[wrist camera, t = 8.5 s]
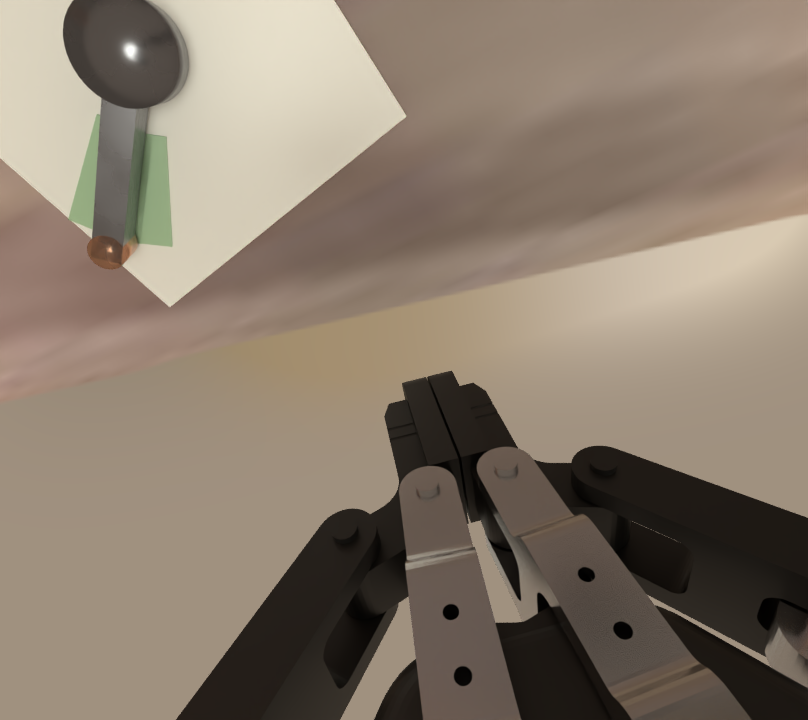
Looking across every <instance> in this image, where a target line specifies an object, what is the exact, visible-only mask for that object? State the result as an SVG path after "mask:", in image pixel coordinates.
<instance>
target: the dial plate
mask: <svg viewBox="0 0 808 720" xmlns="http://www.w3.org/2000/svg"><path fill="white" fill-rule="evenodd" d="M72 1H73V0H0V158H1V159H2V160H3V161H4V162H5V163H6V164H7V165H9V166H10V167H11V168H12V169H13V170H14V171H15V172H17V173H18V174H19V175H20V176H21V177H22V178H23V179H25V180H26V181H27V182H28V183H29V184H30V185H31V186H33V187H34V188H35V189H36V190H37V191H38V192H39V193H40V194H42V195H43V196H44V197H45V198H46V199H47V200H48V201H50V202H51V203H52V204H53V205H54V206H55V207H56V208H58V209H59V210H60V211H61V212H62V213H63V214H64V215H65V216H67V217H68V220H71V221H72V222H73V223H75V224H76V225H77V226H78V227H79V228H80V229H81V230H83V231H84V232H85V233H86V234H87V235H88V236H89V237H90V238H92V230H93V215H94V200H95V185H96V170H97V156H98V141H99V126H100V111H101V97H99V96H98V95H96V94H95V93H94V92H93V91H92V90H90V89H89V88H88V87H87V86H86V85H85V84H84V83H83V81H82V80H81V79H80V78H79V76H78V75H77V73H76V72H75V70H74V69H73V67H72V65H71V63H70V61H69V58H68V56H67V53H66V50H65V46H64V40H63V22H64V18H65V14H66V12H67V9H68V7H69V6H70V4H71V3H72ZM149 1H151V2H152V3H154V4H156V5H157V6H158V7H160V8H161V9H162V10H164V11H165V12H166V13H167V14H168V15H169V16H170V18H171V19H172V20H173V21H174V22H175V24H176V25H177V27H178V28H179V30H180V32H181V34H182V36H183V38H184V41H185V43H186V47H187V50H188V56H189V72H188V76H187V80H186V82H185V85H184V86H183V88H182V90H181V91H180V92H179V94H177V95H176V96H175V97H174V98H173V99H171V100H170V101H168V102H166V103H163V104H159V105H155V106H151V107H149V109H148V119H147V128H146V137H145V147H144V156H143V165H142V175H141V184H140V194H139V203H138V212H137V222H136V231H135V236H136V238H137V241H138V246H137V249H136V251H135V252H134V253H133V254H132V255H131V256H130V257H129V258H128V260H127V261H126V262H125V263H124V264H123V265H122V266H123V267H125V268H126V269H127V270H128V271H129V272H130V273H131V274H133V275H134V276H135V277H136V278H137V279H138V280H139V281H141V282H142V283H143V284H144V285H145V286H146V287H147V288H148V289H150V290H151V291H152V292H153V293H154V294H155V295H156V296H158V297H159V298H160V299H161V300H162V301H163V302H164V303H166V304H167V305H168V306H169V307H171V306H172V305H173V304H174V303H176V302H177V301H178V300H179V299H181V298H182V297H183V296H184V295H186V294H187V293H188V292H189V291H191V290H192V289H193V288H194V287H196V286H197V285H198V284H199V283H201V282H202V281H203V280H204V279H206V278H207V277H208V276H209V275H210V274H212V273H213V272H214V271H215V270H217V269H218V268H219V267H220V266H222V265H223V264H224V263H225V262H227V261H228V260H229V259H230V258H232V257H233V256H234V255H235V254H237V253H238V252H239V251H240V250H241V249H243V248H244V247H245V246H246V245H248V244H249V243H250V242H251V241H253V240H254V239H255V238H256V237H258V236H259V235H260V234H261V233H263V232H264V231H265V230H266V229H268V228H269V227H270V226H271V225H272V224H274V223H275V222H276V221H277V220H279V219H280V218H281V217H282V216H284V215H285V214H286V213H287V212H289V211H290V210H291V209H292V208H294V207H295V206H296V205H297V204H299V203H300V202H301V201H302V200H303V199H305V198H306V197H307V196H308V195H310V194H311V193H312V192H313V191H315V190H316V189H317V188H318V187H320V186H321V185H322V184H323V183H325V182H326V181H327V180H328V179H330V178H331V177H332V176H333V175H335V174H336V173H337V172H338V171H339V170H341V169H342V168H343V167H344V166H346V165H347V164H348V163H349V162H351V161H352V160H353V159H354V158H356V157H357V156H358V155H359V154H361V153H362V152H363V151H364V150H366V149H367V148H368V147H369V146H370V145H372V144H373V143H374V142H375V141H377V140H378V139H379V138H380V137H382V136H383V135H384V134H385V133H387V132H388V131H389V130H390V129H392V128H393V127H394V126H395V125H397V124H398V123H399V122H400V121H401V120H403V119H404V118H405V117H406V115H405V113H404V111H403V110H402V108H401V106H400V105H399V103H398V102H397V100H396V98H395V97H394V95H393V94H392V92H391V90H390V89H389V87H388V86H387V84H386V82H385V81H384V79H383V78H382V76H381V74H380V73H379V71H378V70H377V68H376V66H375V65H374V63H373V62H372V60H371V58H370V57H369V55H368V54H367V52H366V50H365V49H364V47H363V46H362V44H361V42H360V41H359V39H358V38H357V36H356V34H355V33H354V31H353V30H352V28H351V26H350V25H349V23H348V22H347V20H346V18H345V17H344V15H343V14H342V12H341V10H340V9H339V7H338V6H337V4H336V2H335V1H334V0H149Z"/></svg>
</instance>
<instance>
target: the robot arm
mask: <svg viewBox="0 0 808 720" xmlns="http://www.w3.org/2000/svg"><path fill="white" fill-rule="evenodd" d="M427 379H428V380H427ZM402 386H403V391H404V396H405V400H403V401H399V402H395V403H391V404H389V405H388V408H387V411H386V413H385V421H386V425H387V429H388V434H389V438H390V443H391V447H392V451H393V456H394V460H395V464H396V468H397V473H398V477H399V487H398V490H397V492H396V494H395V496H394V497H393V498H392V500H391V501H390V502H389V503H387V504H386V505H385V506H384V507H382V508H380V509H379V510H377V511H375V512H374V513H372V514H369V513H367V512H365V511H363V510H360V509H346V510H342V511H339V512H337V513H335V514H333V515H332V516H330V517H329V518H327V520H325V521H324V523H323V524H322V525H321V526H320V527H319V529H318V530H317V531H316V533H315V534H314V535H313V537H312V538H311V539H310V541H309V542H308V544H307V545H306V546H305V547H304V549H303V550H302V552H301V553H300V554H299V556H298V557H297V558H296V560H295V561H294V562H293V564H292V565H291V566H290V568H289V569H288V570H287V572H286V573H285V574H284V576H283V577H282V578H281V580H280V581H279V582H278V584H277V585H276V586H275V588H274V589H273V590H272V592H271V593H270V594H269V596H268V597H267V598H266V600H265V601H264V602H263V604H262V605H261V606H260V608H259V609H258V611H257V612H256V613H255V615H254V616H253V617H252V619H251V620H250V621H249V623H248V624H247V625H246V627H245V628H244V629H243V631H242V632H241V633H240V635H239V636H238V637H237V639H236V640H235V641H234V643H233V644H232V645H231V647H230V648H229V649H228V651H227V652H226V653H225V655H224V656H223V658H222V659H221V660H220V661H219V663H218V664H217V665H216V667H215V668H214V670H213V671H212V672H211V674H210V675H209V676H208V678H207V679H206V680H205V682H204V683H203V684H202V686H201V687H200V688H199V690H198V691H197V692H196V694H195V695H194V696H193V698H192V699H191V700H190V702H189V703H188V704H187V706H186V707H185V708H184V710H183V711H182V712H181V714H180V715H179V716H178V718H177V719H176V720H340V719H341V717H342V715H343V713H344V711H345V709H346V707H347V705H348V703H349V702H350V700H351V698H352V696H353V694H354V692H355V690H356V688H357V686H358V684H359V683H360V680H361V679H362V677H363V675H364V673H365V671H366V669H367V667H368V665H369V663H370V661H371V660H372V658H373V656H374V654H375V652H376V650H377V648H378V646H379V644H380V642H381V640H382V639H383V636H384V635H385V633H386V631H387V629H388V627H389V625H390V623H391V621H392V620H393V617H394V616H395V614H396V611H397V608H398V603H399V602H401V601H402V600H404V599H405V598H407V597H408V596H409V603H410V611H411V620H412V628H413V637H414V646H415V654H416V659H415V660H414V661H413V662H411V663H410V664H409V665H408V666H407V667H406V668H405V669H404V670H403V671H402V672H401V673H400V674H399V676H398V677H397V678H396V680H395V681H394V682H393V684H392V685H391V687H390V688H389V690H388V692H387V693H386V695H385V697H384V699H383V701H382V703H381V706H380V708H379V710H378V712H377V714H376V717H375V719H374V720H808V518H806V517H804V516H801V515H798V514H795V513H792V512H790V511H787V510H784V509H781V508H778V507H776V506H773V505H770V504H767V503H765V502H762V501H759V500H757V499H754V498H751V497H748V496H745V495H743V494H740V493H737V492H734V491H732V490H729V489H726V488H723V487H720V486H718V485H715V484H712V483H709V482H706V481H704V480H701V479H698V478H695V477H693V476H689V475H687V474H684V473H682V472H679V471H676V470H673V469H671V468H667V467H665V466H662V465H659V464H657V463H654V462H651V461H648V460H646V459H643V458H640V457H637V456H635V455H632V454H629V453H626V452H623V451H620V450H618V449H615V448H612V447H607V446H592V447H588V448H584V449H582V450H580V451H579V452H577V454H576V455H575V456H574V457H573V459H572V463H544V462H540V461H536V460H533V458H532V457H531V456H530V455H528V453H526V452H525V451H523V450H521V449H518V447H517V446H516V444H515V442H514V440H513V438H512V437H511V435H510V433H509V431H508V430H507V428H506V426H505V424H504V422H503V421H502V419H501V417H500V416H499V414H498V413H497V410H496V408H495V407H494V405H493V404H492V401H491V399H490V398H489V396H488V394H487V392H486V391H485V390H483V389H482V388H480V387H479V386H477V385H476V384H474V383H470V384H466V385H462V386H459V384H458V382H457V380H456V378H455V376H454V374H453V372H452V371H448V372H444V373H440V374H436V375H432V376H428V377H427V378H426V377H424V378H421V379H416V380H413V381H408V382H405V383H402ZM467 513H468V516H469V519H470V521H471V523H472V522H475V521H480V520H481V522H482V525H483V527H484V530H485V535H486V542H487V547H488V549H489V551H490V553H491V555H492V557H493V559H494V562H495V563H496V566H497V568H498V570H499V572H500V574H501V576H502V578H503V580H504V582H505V584H506V586H507V588H508V590H509V593H510V594H511V597H512V599H513V601H514V603H515V605H516V607H517V609H518V612H519V614H520V617H521V620H522V622H518V623H495V620H494V616H493V612H492V609H491V605H490V601H489V597H488V594H487V590H486V586H485V582H484V578H483V575H482V571H481V567H480V564H479V560H478V556H477V552H476V550H475V547H473V545H472V541H471V537H470V533H469V529H468V525H467V524H468V517H467ZM632 521H633V522H632ZM634 522H636V523H634ZM637 523H638V524H637ZM639 524H640V525H639ZM641 525H642V526H641ZM644 526H645V527H644ZM646 527H647V528H646ZM648 528H649V529H648ZM650 529H652V530H650ZM653 530H654V531H653ZM655 531H656V532H655ZM657 532H658V533H657ZM659 533H660V534H659ZM662 534H663V535H662ZM664 535H665V536H664ZM666 536H667V537H666ZM668 537H669V538H668ZM671 538H672V539H671ZM673 539H674V540H673ZM675 540H676V541H675ZM677 541H678V542H677ZM647 595H649V596H651V597H653V598H655V599H657V600H659V601H661V602H663V603H664V604H666V605H668V606H670V607H672V608H674V609H676V610H678V611H680V612H681V613H683V614H686V615H687V616H689V617H691V618H693V619H695V620H697V621H699V622H701V623H702V624H705V625H706V626H708V627H710V628H712V629H714V630H716V631H718V632H720V633H722V634H723V635H725V636H727V637H729V638H731V639H733V640H735V641H737V642H739V643H741V644H742V645H744V646H746V647H748V648H750V649H752V650H754V651H756V652H758V653H760V654H761V655H763V656H765V657H767V660H768V662H769V664H770V666H771V667H772V668H771V667H769V666H768V665H766V664H764V663H762V662H761V661H759V660H757V659H755V658H753V657H752V656H750V655H748V654H746V653H745V652H743V651H741V650H739V649H738V648H736V647H734V646H732V645H730V644H729V643H727V642H725V641H723V640H722V639H720V638H718V637H716V636H715V635H713V634H711V633H709V632H707V631H706V630H704V629H702V628H700V627H699V626H697V625H695V624H693V623H691V622H689V621H688V620H686V619H684V618H683V617H681V616H679V615H677V614H675V613H673V612H671V611H668V610H666V609H664V608H661V607H658V606H655V605H654V604H653V603H652V601H651V600H650V599H649V597H648V596H647Z"/></svg>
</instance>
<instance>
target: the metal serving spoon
mask: <svg viewBox="0 0 808 720" xmlns="http://www.w3.org/2000/svg"><path fill="white" fill-rule="evenodd" d="M63 40H64V46H65V50H66V53H67V56H68V58H69V61H70V63H71V65H72V67H73V69H74V70H75V72H76V73H77V75H78V76H79V78H80V79H81V80H82V81H83V83H84V84H85V85H86V86H87V87H88V88H89V89H90V90H92V91H93V92H94V93H95V94H96V95H98V96H99V97H101V111H100V126H99V141H98V156H97V170H96V185H95V200H94V215H93V230H92V239H91V240H90V242H89V243H88V246H87V251H88V255H89V257H90V258H91V260H92V261H93V262H94V263H95V264H96V265H98V266H100V267H102V268H105V269H117V268H119V267H121V266H122V265H123V264H124V263H125V262H126V261H127V260H128V258H129V257H130V256H131V255H132V254H133V253H134V252H135V251H136V249H137V246H138V241H137V238H136V236H135V231H136V222H137V212H138V203H139V194H140V184H141V175H142V165H143V156H144V147H145V137H146V128H147V119H148V109H149V107H151V106H155V105H159V104H163V103H166V102H168V101H170V100H171V99H173V98H174V97H175V96H176V95H177V94H179V92H180V91H181V90H182V88H183V86H184V85H185V82H186V80H187V76H188V72H189V56H188V50H187V47H186V43H185V41H184V38H183V36H182V34H181V32H180V30H179V28H178V27H177V25H176V24H175V22H174V21H173V20H172V19H171V18H170V16H169V15H168V14H167V13H166V12H165V11H164V10H162V9H161V8H160V7H158V6H157V5H156V4H154V3H152V2H151V1H149V0H73V1H72V3H71V4H70V6H69V7H68V9H67V12H66V14H65V18H64V22H63Z"/></svg>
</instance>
